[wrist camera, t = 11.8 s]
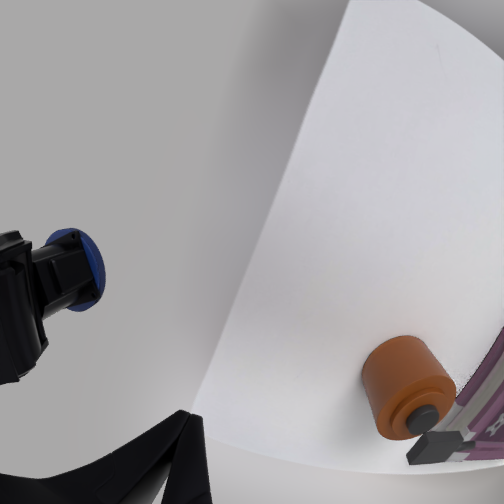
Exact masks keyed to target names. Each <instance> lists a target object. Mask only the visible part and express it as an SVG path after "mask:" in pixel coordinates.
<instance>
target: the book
mask: <svg viewBox="0 0 504 504" xmlns="http://www.w3.org/2000/svg"><path fill="white" fill-rule="evenodd" d="M430 431H436V432H443V431H460V433H461V435H462V436H463V438H464V441H472V440H474V441H475V442H476V446H475V448H474V449H472V450H466V451H460V452H454V453H453V454H452V455H451V456H450V457H449V458H448V459H447V460H446V461H445V462H462V461H463V460H494V459H504V328H503V330H502V332H501V333H500V335H499V337H498V339H497V340H496V342H495V344H494V345H493V347H492V348H491V350H490V352H489V353H488V355H487V356H486V358H485V359H484V361H483V363H482V364H481V366H480V367H479V368H478V370H477V371H476V373H475V374H474V376H473V377H472V378H471V380H470V381H469V383H468V384H467V385H466V387H465V388H464V389H463V390H462V392H461V393H460V394H459V396H458V397H457V398H456V399H455V401H454V404H453V406H452V408H451V409H450V411H449V412H448V414H447V415H446V416H445V417H444V418H443V419H442V420H441V421H440V422H439V423H438V424H437V425H436V426H435V427H433V428H432V429H430ZM464 441H463V442H464Z"/></svg>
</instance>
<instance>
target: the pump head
mask: <svg viewBox="0 0 504 504" xmlns="http://www.w3.org/2000/svg"><path fill="white" fill-rule="evenodd" d="M463 441H464V438H463V436H462V435H461V433H460V431H443V432H436V431H430V432H424V433H423V435H422V436H421V437H420V438H419V440H418V441H417V442H416V443H415V445H414V446H413V447H412V448H411V449H410V451H409V452H408V453H407V454H406V456H407V459H408V462H409V465H420V464H431V463H440V462H445V461H446V460H447V459H448V458H449V457H450V456H451V455H452V454H453V453H454V452H460V451H466V450H472V449H474V448H475V446H476V442H475V441H474V440H472V441H464V442H463Z"/></svg>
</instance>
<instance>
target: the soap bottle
mask: <svg viewBox="0 0 504 504" xmlns="http://www.w3.org/2000/svg"><path fill="white" fill-rule="evenodd" d="M362 381H363V385H364V388H365V391H366V394H367V397H368V400H369V403H370V407H371V410H372V413H373V416H374V420H375V423H376V426H377V429H378V432H379V433H380V434H381V435H382V436H383V437H385V438H387V439H390V440H407V439H411V438H414V437H417V436H419V435H421V434H423V433H424V432H427V431H429V430H430V429H432V428H433V427H435V426H436V425H437V424H438V423H439V422H440V421H441V420H442V419H443V418H444V417H445V416H446V415H447V414H448V412H449V411H450V409H451V408H452V406H453V404H454V401H455V398H456V386H455V383H454V382H453V380H452V379H451V378H450V376H449V375H448V373H447V372H446V371H445V369H444V368H443V367H442V365H441V364H440V363H439V361H438V360H437V359H436V358H435V356H434V355H433V354H432V352H431V351H430V350H429V349H428V347H427V346H426V345H425V343H424V342H423V341H421V340H420V339H418V338H416V337H413V336H399V337H396V338H393V339H390V340H388V341H386V342H384V343H383V344H381V345H380V346H379V347H377V348H376V349H375V350H374V351H373V352H372V353H371V354H370V356H369V357H368V359H367V360H366V362H365V364H364V367H363V370H362Z"/></svg>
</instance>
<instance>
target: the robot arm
mask: <svg viewBox="0 0 504 504" xmlns="http://www.w3.org/2000/svg"><path fill="white" fill-rule="evenodd" d="M74 234H75V237H74ZM31 249H32V242H31V241H25V240H23V238H22V237H21V235H20V233H19V231H16V230H14V231H9V232H5V233H1V234H0V385H2V384H6V383H14V382H19V381H20V379H19V378H21V377H23V376H25V375H26V374H27V373H28V372H29V371H30V370H32V369H33V368H34V367H35V366H36V361H37V360H38V359H39V357H40V356H41V354H42V353H43V351H44V350H45V349H46V347H47V346H48V345H49V343H48V339H47V337H46V335H45V331H44V327H43V322H42V320H44V319H46V318H48V317H49V316H51V315H53V314H55V313H56V312H58V311H60V310H61V309H64V308H69V307H72V306H76V305H80V304H84V303H88V302H91V301H95V300H97V299H99V297H100V293H99V290H98V287H97V285H96V282H95V279H94V277H93V274H92V271H91V268H90V265H89V262H88V259H87V256H86V253H85V250H84V247H83V243H82V240H81V237H80V234H79V232H78V231H77V230H75V231H71V232H69V233H67V234H66V235H64V236H62V237H60V238H58V239H56V240H54V241H52V242H50V243H48V244H47V245H45V246H43V247H41V248H40V249H37V250H33V251H31ZM94 293H95V295H94ZM167 477H168V479H167ZM166 479H167V483H166V486H165V490H164V494H163V499H162V502H161V504H213V503H212V497H211V492H210V483H209V475H208V467H207V458H206V448H205V438H204V427H203V418H202V417H201V416H198V415H195V414H190V413H189V412H186V411H184V410H178V411H177V412H175V413H174V414H172V415H171V416H169V417H168V418H166V419H165V420H163V421H162V422H160V423H159V424H157V425H155V426H154V427H153V428H151V429H150V430H148V431H146V432H145V433H143V434H141V435H140V436H138V437H137V438H135V439H133V440H132V441H130V442H128V443H127V444H125V445H123V446H122V447H120V448H118V449H116V450H115V451H113V452H112V453H109V454H108V455H106V456H104V457H102V458H100V459H98V460H96V461H94V462H92V463H90V464H88V465H85V466H83V467H80V468H77V469H75V470H72V471H68V472H65V473H62V474H59V475H56V476H53V477H49V478H42V479H34V478H26V477H18V476H12V475H7V474H1V473H0V504H152V502H153V501H154V499H155V497H156V495H157V494H158V492H159V490H160V489H161V487H162V485H163V484H164V481H165V480H166Z"/></svg>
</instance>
